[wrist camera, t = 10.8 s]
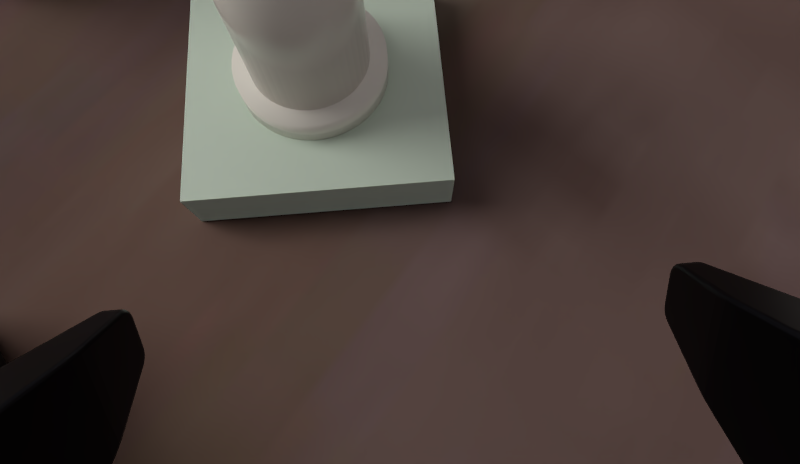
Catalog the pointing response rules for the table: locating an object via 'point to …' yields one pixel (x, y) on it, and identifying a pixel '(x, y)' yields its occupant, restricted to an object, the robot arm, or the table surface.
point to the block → (317, 159)
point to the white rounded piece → (307, 63)
